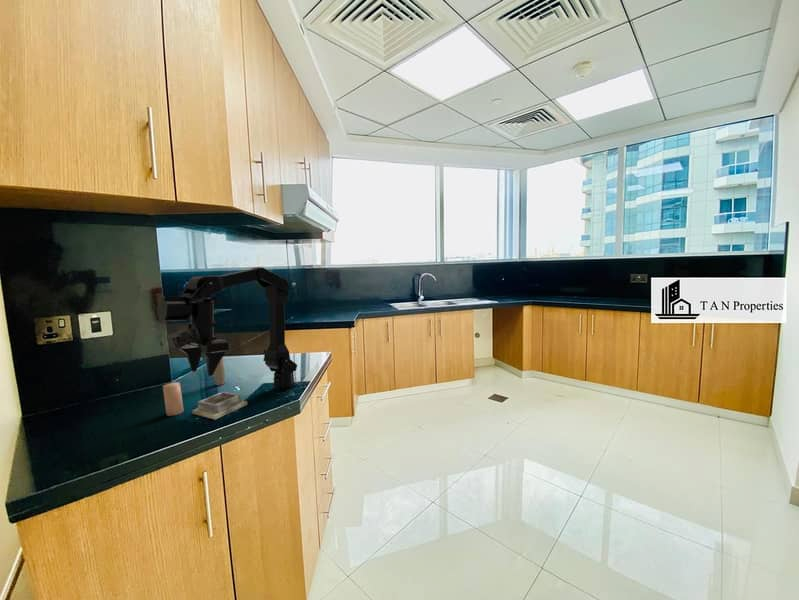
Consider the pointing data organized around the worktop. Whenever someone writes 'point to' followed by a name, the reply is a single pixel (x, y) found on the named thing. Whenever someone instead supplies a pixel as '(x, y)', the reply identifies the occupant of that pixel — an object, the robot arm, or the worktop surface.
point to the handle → (219, 373)
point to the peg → (173, 398)
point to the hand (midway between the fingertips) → (201, 373)
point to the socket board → (219, 405)
